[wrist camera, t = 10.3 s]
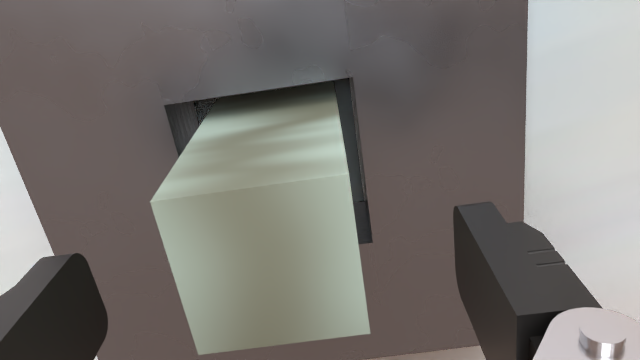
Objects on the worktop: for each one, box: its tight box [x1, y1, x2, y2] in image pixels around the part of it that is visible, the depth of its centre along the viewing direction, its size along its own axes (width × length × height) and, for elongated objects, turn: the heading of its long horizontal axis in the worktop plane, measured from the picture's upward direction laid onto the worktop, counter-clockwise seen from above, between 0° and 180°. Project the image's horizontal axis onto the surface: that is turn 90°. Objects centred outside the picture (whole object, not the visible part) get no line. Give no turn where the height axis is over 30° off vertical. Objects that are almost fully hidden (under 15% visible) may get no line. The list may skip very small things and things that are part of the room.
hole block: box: [0, 0, 528, 360], centre depth 17 cm, size 15×15×3 cm
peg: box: [150, 81, 370, 355], centre depth 15 cm, size 4×4×8 cm
